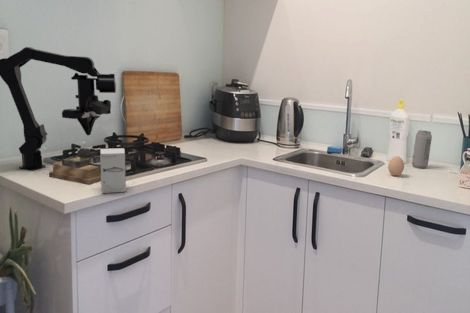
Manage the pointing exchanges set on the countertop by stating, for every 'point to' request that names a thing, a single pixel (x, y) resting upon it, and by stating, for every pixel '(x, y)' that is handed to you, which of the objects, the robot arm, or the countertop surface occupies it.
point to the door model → (78, 169)
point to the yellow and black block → (83, 155)
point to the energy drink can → (422, 149)
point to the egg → (396, 166)
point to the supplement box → (112, 170)
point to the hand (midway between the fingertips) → (88, 135)
